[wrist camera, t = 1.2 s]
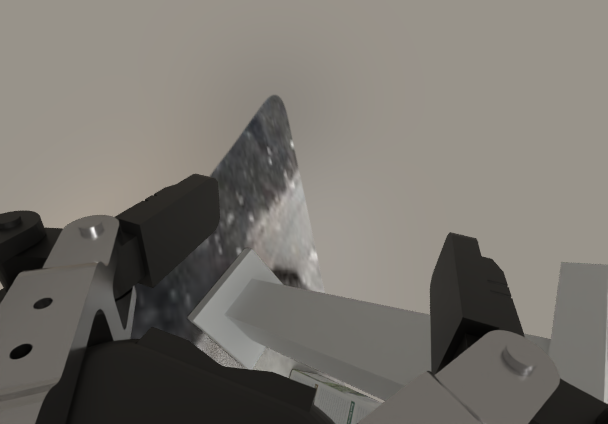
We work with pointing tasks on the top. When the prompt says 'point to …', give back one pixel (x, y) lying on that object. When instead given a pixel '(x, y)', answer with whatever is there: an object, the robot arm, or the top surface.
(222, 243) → the top surface
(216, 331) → the stand
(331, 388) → the syrup box
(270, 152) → the top surface
